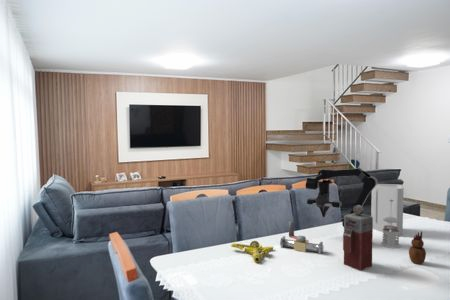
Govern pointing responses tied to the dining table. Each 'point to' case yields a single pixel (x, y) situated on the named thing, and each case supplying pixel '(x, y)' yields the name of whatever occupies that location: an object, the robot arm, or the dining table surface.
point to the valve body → (301, 245)
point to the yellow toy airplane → (254, 249)
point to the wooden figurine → (417, 250)
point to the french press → (390, 236)
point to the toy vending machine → (358, 239)
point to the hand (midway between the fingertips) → (323, 217)
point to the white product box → (387, 206)
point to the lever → (291, 233)
